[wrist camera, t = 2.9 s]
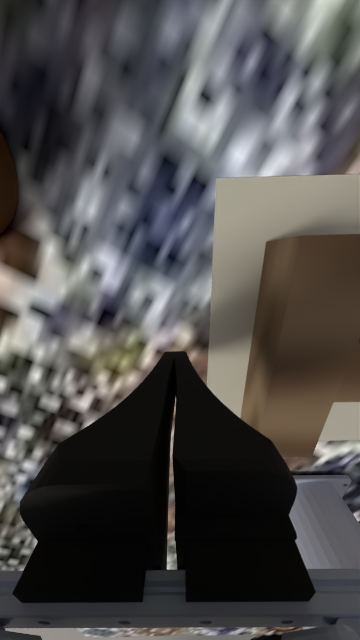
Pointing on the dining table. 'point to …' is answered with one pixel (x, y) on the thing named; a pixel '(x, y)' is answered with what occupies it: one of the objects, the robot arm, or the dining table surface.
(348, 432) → the mat
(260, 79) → the dining table surface
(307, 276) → the t block
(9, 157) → the mug
